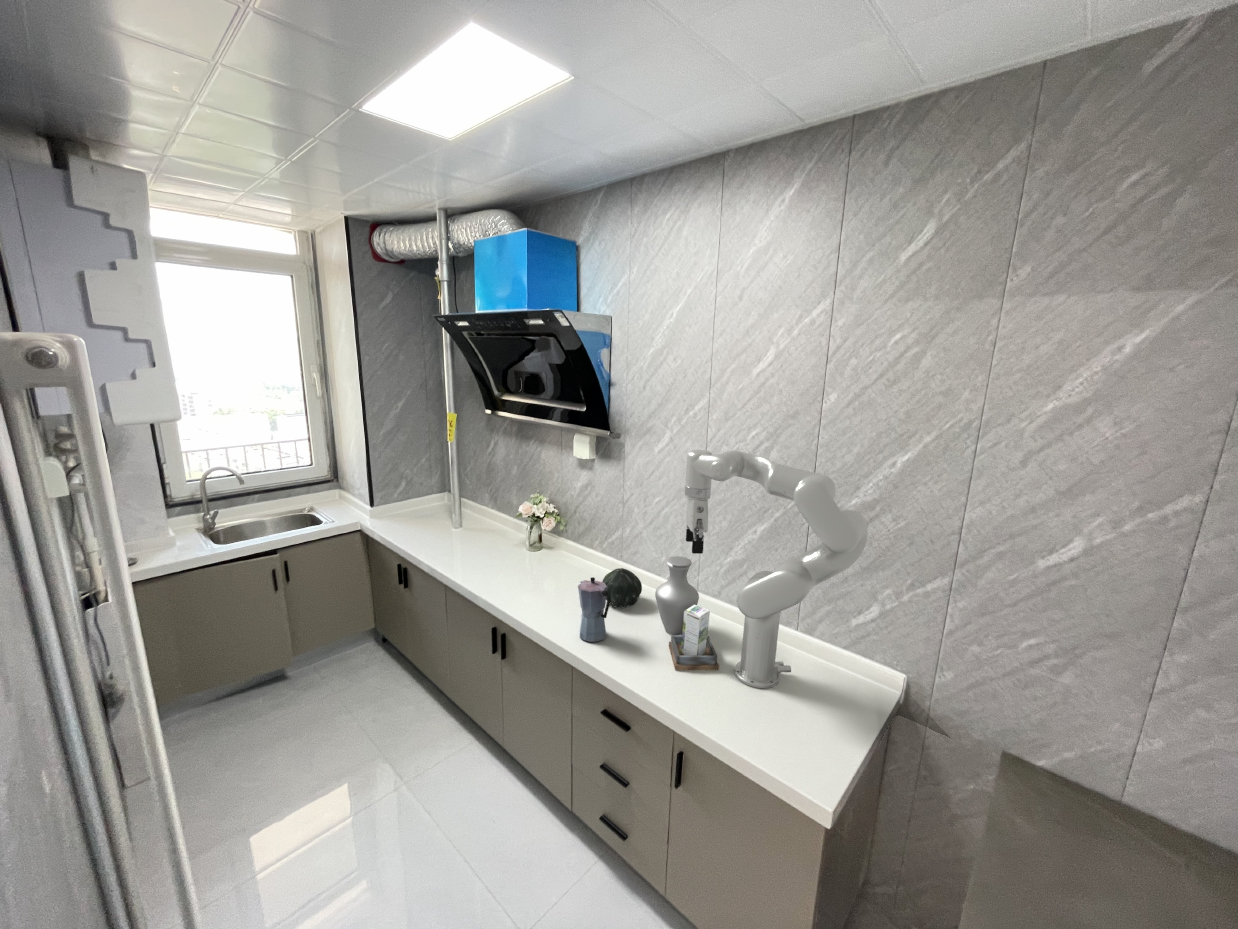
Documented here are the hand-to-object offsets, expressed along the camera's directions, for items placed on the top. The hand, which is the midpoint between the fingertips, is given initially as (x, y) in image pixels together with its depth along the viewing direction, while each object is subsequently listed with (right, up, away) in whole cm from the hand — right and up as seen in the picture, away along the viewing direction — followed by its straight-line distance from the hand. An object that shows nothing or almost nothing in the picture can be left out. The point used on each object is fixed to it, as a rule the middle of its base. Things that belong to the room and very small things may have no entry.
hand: (694, 547), depth 154 cm
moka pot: (-31, -32, +13) cm, 46 cm away
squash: (-22, -27, +37) cm, 51 cm away
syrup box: (0, -33, +3) cm, 33 cm away
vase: (-4, -31, +19) cm, 37 cm away
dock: (0, -34, +3) cm, 35 cm away
